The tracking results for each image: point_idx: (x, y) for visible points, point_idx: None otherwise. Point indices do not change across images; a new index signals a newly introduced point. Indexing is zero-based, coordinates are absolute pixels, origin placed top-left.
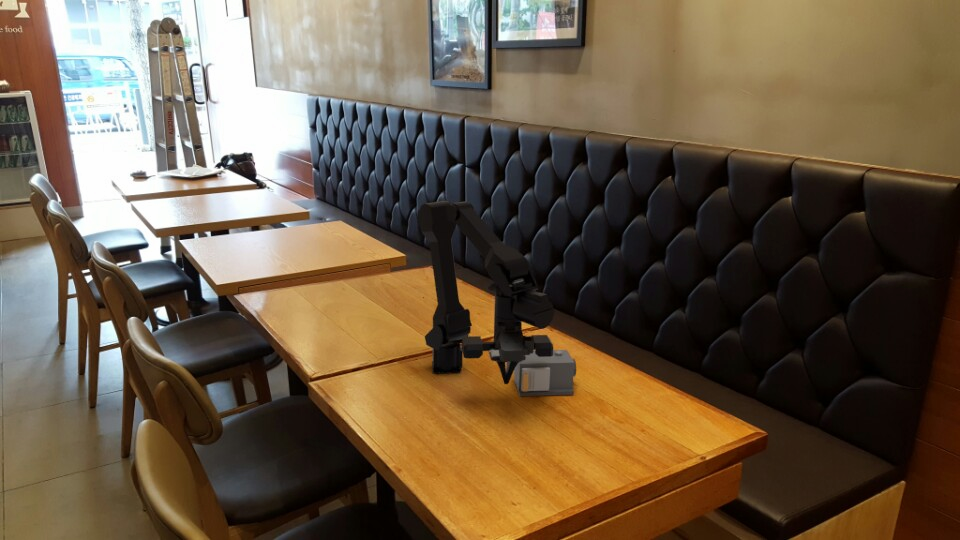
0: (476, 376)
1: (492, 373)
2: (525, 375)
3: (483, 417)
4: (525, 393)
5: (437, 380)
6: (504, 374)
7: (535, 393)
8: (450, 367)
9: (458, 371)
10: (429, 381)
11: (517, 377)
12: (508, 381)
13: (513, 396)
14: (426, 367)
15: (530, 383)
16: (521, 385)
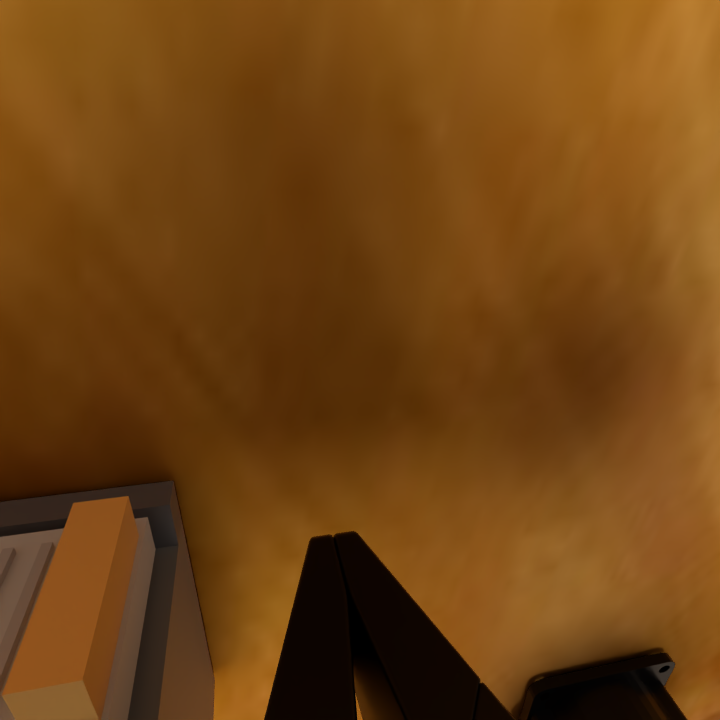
0: None
1: None
2: (54, 697)
3: (578, 88)
4: None
5: (672, 600)
6: (402, 646)
7: (3, 517)
8: (599, 707)
9: (549, 688)
10: (715, 586)
11: (185, 681)
12: (313, 563)
13: (230, 479)
14: None
15: (22, 602)
16: (145, 577)
